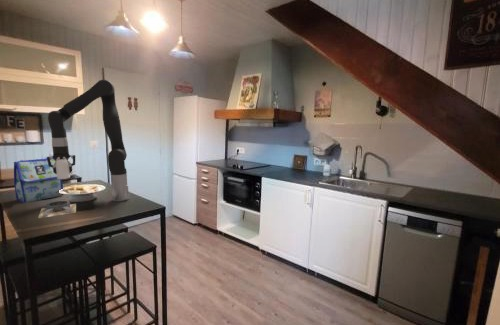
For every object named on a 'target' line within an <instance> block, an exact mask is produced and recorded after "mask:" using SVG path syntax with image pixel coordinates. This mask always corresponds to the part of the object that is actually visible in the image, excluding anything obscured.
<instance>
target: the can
mask: <svg viewBox="0 0 500 325" xmlns="http://www.w3.org/2000/svg"><path fill="white" fill-rule="evenodd" d="M56 173H57V179H62V180H67V179H70V178H71V173H70V170H69V165H68V162H67V160H66V159H57V161H56Z"/></svg>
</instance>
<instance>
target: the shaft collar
mask: <svg viewBox="0 0 500 325" xmlns="http://www.w3.org/2000/svg"><path fill="white" fill-rule="evenodd" d="M70 204H71V203H70V200H57V201H53V202H49V203H47V204H46V205H45V206H46V207H45V208H47V210H46V211H44V212H42V213H43V216H49V215H51V214H52V213H54V212H57V211H63V212H65V213H70V212H72V208H70ZM70 214H71V213H70Z"/></svg>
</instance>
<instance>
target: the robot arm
mask: <svg viewBox="0 0 500 325" xmlns="http://www.w3.org/2000/svg"><path fill="white" fill-rule="evenodd" d="M115 90H116V89H115V86H114V84H113V83H112V82H111V81H109V80H107V79H103V78H102V79H100V80H98V81H97V82H96V83H95V84H94V85H93V86H91V87H90V88H88V90H86V91H85V92H83V93H82V94H80V95H78V96H77V97H75V98H73V99H71V100H70V101H68V102H67V103H65V104H64V105H63V106H62V107H61V108H60V109H58V110H51V111H49V113H48V115H47V121H48V125H49V128H50V130H51V131H50V133H51V146H52V147H51V149H52V155H51V156H47V157H46V158H47V161H48V165H49V167H52V168H53V172H54V173H55V174H57V173H56V161H57V159H66V160H67V162H68V165H69V170H70V174H71V173H72V172H73V167H74V166H76V155H75V154H70V153H69V152H70V151H69V150H70V149H69V141H68V138H67V129H66V128H65V127H64V123H65V122H66V121H67V120H69V119H70V118H72V117H73V116H74V115H76V114H78V113H79V112H81V111H82V110H84V109H85V108H87V106H89V105H90V104H91V103H93V102H94V101H96V100H97V99H99V98H100V99H101V102H102V121H103V122H102V123H103V126H104V131H105V133H106V135H107V137H108V139H109V142H110V147H111V150H110V151H109V152H108V154H107V162H108V170H109V172H110V183H111V184H110V185H111V187H110V188H111V196H112V198H111V200H112V201H113V202H124V201H127V200H130V199H129V198H130V196H129V195H130V194H129V185H128V174H127V173H128V172H127V168H126V164H125V161H126V159H127V152H126V148H125V144H124V140H123V132H122V126H121V120H120V115H119V112H118V109H117V108H118V107H117V105H116V95H115V92H116V91H115ZM52 158H53V159H54V160H56V161H55V163H54V165H51V161H50V160H52ZM70 159H72V163H71V162H70Z"/></svg>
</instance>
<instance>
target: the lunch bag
mask: <svg viewBox="0 0 500 325" xmlns="http://www.w3.org/2000/svg"><path fill="white" fill-rule="evenodd" d="M50 161H51V165H54V163H55V161H56V160H54V159H53V158H52V160H50ZM13 181H14V182H13V185H14V192H15V199H16V200H17V201H18V202H21V203H23V204H25V203H32V202H36V201H42V200H46V199H51V198H52V199H53V198H56V197H61V196H64V194H60V193H59V190H61V189H63V190H64V185H63V184H64V183H63V179H57V174H55V173H54V172H53V168H52V167H49V165H48V161H47V157H46V158H40V159H39V158H38V159H37V158H36V159H25V160H23V159H21V160H18V161H14V162H13Z"/></svg>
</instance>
